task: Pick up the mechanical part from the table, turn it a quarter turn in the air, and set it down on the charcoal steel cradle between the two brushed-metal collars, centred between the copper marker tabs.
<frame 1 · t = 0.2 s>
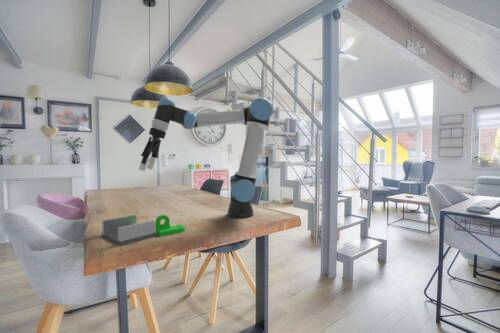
hand: (145, 169, 119), 27 cm above the table, tool tilted 20°, fingers open, 13 cm apart
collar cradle: (128, 235, 102), on the table
mechanical part: (171, 233, 107), on the table
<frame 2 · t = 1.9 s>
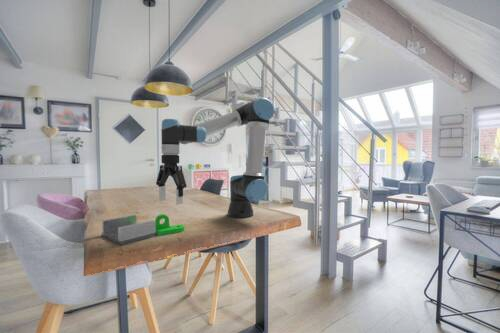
hand: (170, 202, 106), 13 cm above the table, tool pointing down, fingers open, 13 cm apart
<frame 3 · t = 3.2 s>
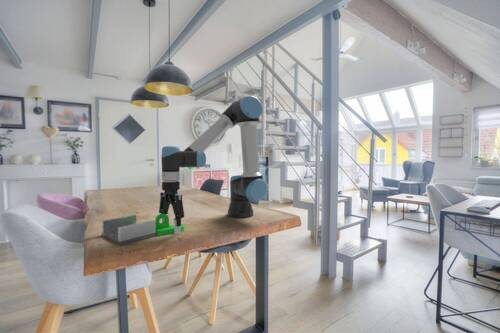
hand: (171, 231, 107), 0 cm above the table, tool pointing down, fingers open, 9 cm apart
mechanical part: (170, 232, 107), on the table, touching gripper
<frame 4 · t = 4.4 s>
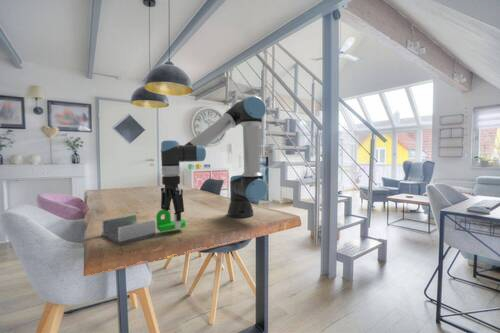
hand: (172, 226, 107), 2 cm above the table, tool pointing down, fingers closed on mechanical part, 7 cm apart
mechanical part: (172, 227, 107), point 2 cm above the table, touching gripper
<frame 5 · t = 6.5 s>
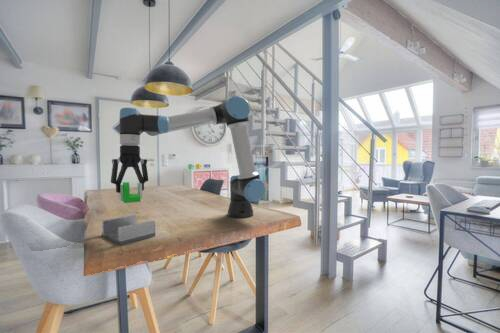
hand: (130, 199, 101), 16 cm above the table, tool pointing down, fingers closed on mechanical part, 7 cm apart
mechanical part: (130, 200, 101), point 15 cm above the table, touching gripper
when the fingers open (3 cm above the table, at t = 8.7 s): mechanical part drops 1 cm, resting on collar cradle.
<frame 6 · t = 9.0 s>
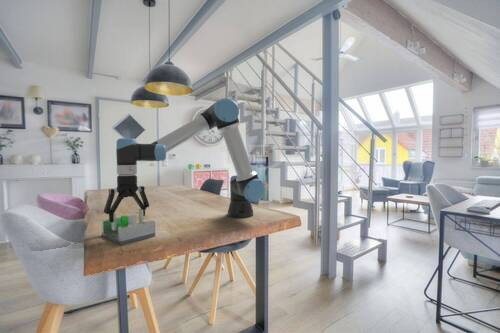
hand: (128, 226, 102), 4 cm above the table, tool pointing down, fingers open, 10 cm apart
mechanical part: (128, 232, 101), point 1 cm above the table, touching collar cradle
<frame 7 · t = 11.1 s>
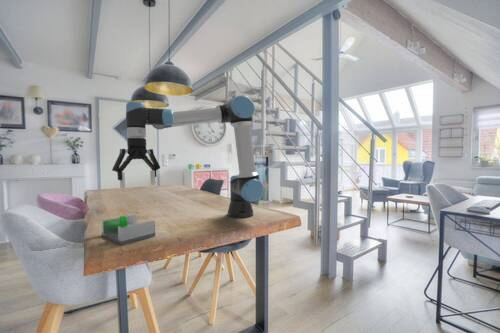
hand: (138, 186, 106), 21 cm above the table, tool pointing down, fingers open, 13 cm apart
nothing on the table moved.
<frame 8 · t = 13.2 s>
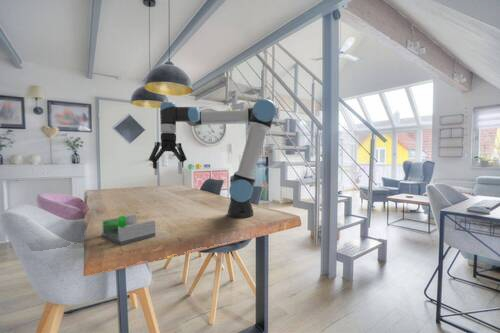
hand: (169, 174, 123), 25 cm above the table, tool pointing down, fingers open, 13 cm apart
nothing on the table moved.
at the end: mechanical part 0.5 cm off-centre on the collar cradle, point 1.3 cm above the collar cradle's base; mechanical part tilted 0°; the gripper is holding nothing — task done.
